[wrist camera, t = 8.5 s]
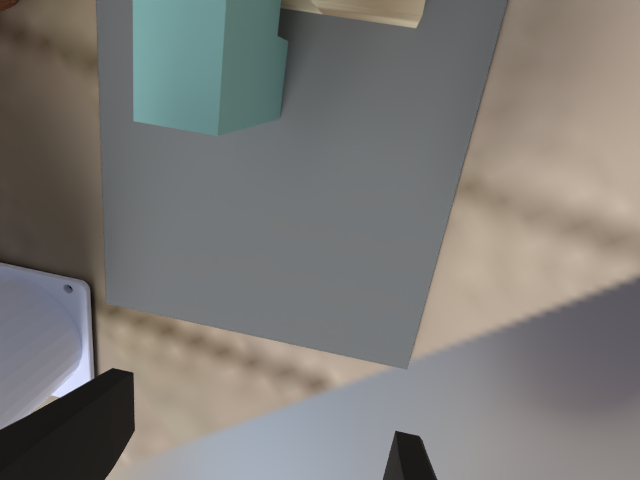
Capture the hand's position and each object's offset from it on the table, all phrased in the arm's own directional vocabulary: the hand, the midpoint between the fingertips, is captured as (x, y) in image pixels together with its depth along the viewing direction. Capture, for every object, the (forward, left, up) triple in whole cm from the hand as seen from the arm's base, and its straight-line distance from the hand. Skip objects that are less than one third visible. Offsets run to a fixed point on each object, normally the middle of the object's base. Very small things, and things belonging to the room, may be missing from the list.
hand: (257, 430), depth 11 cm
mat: (-3, +6, -10) cm, 12 cm away
